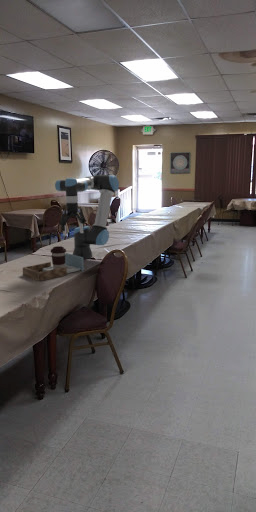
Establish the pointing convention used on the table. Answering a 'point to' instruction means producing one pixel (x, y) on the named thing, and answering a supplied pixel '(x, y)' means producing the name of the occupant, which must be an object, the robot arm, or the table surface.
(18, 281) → the table surface
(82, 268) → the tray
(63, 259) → the coffee cup
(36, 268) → the brown wooden frame
